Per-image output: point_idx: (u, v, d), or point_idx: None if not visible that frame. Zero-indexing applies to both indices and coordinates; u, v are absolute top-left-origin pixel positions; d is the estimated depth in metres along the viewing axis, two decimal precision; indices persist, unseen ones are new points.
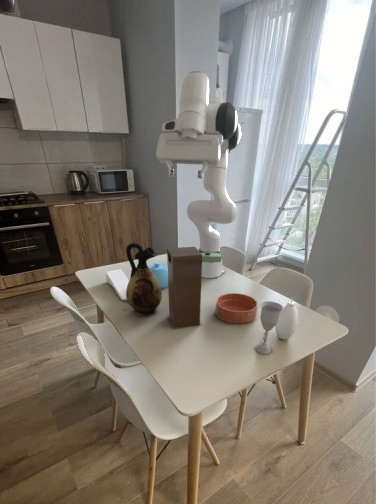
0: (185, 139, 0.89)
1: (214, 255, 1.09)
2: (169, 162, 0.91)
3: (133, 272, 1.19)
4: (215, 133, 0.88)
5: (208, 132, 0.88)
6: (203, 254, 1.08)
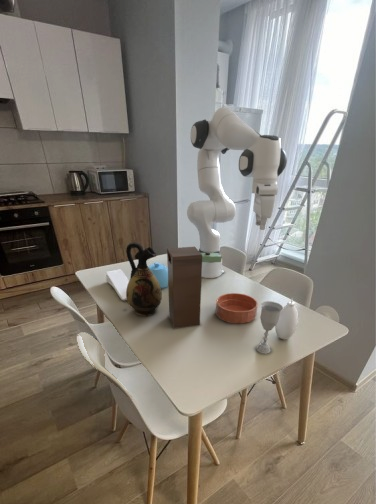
0: None
1: (214, 255, 1.09)
2: None
3: (133, 272, 1.19)
4: None
5: None
6: (203, 254, 1.08)
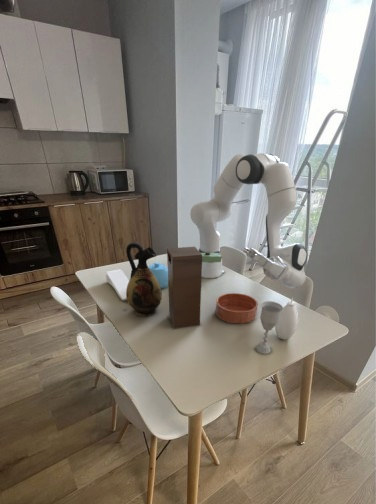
0: None
1: (214, 255, 1.09)
2: (261, 264, 1.10)
3: (133, 272, 1.19)
4: None
5: None
6: (203, 254, 1.08)
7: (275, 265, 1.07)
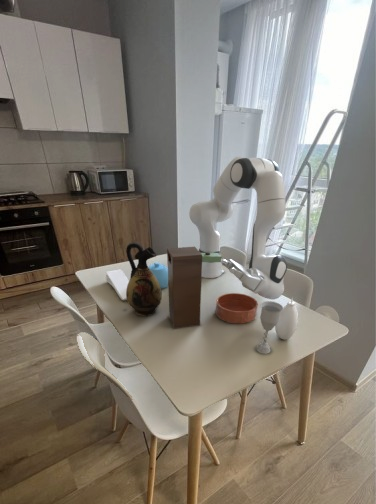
0: None
1: (214, 255, 1.09)
2: (237, 276, 1.11)
3: (133, 272, 1.19)
4: None
5: None
6: (203, 254, 1.08)
7: (251, 278, 1.08)
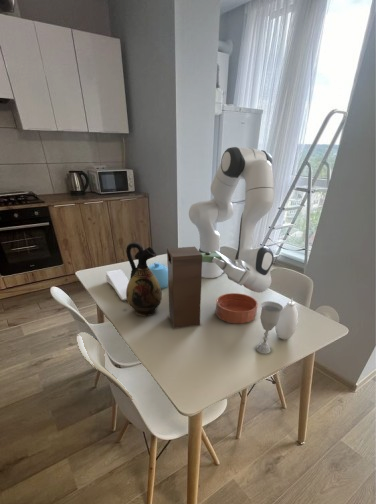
0: None
1: (214, 255, 1.09)
2: (219, 266, 1.09)
3: (133, 272, 1.19)
4: None
5: None
6: (203, 254, 1.08)
7: (234, 269, 1.04)
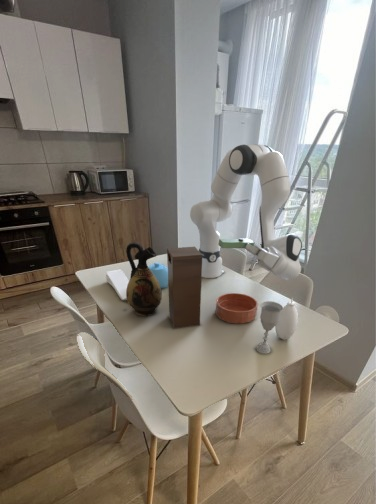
0: None
1: (247, 241, 1.09)
2: (252, 252, 1.09)
3: (133, 272, 1.19)
4: None
5: None
6: (236, 240, 1.09)
7: (269, 254, 1.04)
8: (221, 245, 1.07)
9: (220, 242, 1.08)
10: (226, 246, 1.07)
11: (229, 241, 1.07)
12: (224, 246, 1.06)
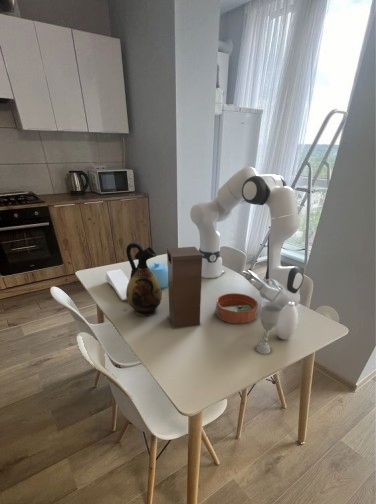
0: None
1: (246, 308, 1.26)
2: (257, 287, 1.16)
3: (133, 272, 1.19)
4: None
5: None
6: (236, 308, 1.26)
7: (270, 289, 1.13)
8: None
9: None
10: None
11: None
12: None
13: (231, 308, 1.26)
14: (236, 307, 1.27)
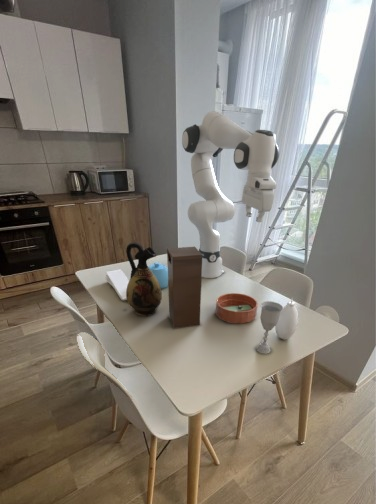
0: None
1: (246, 308, 1.26)
2: None
3: (133, 272, 1.19)
4: None
5: None
6: (236, 308, 1.26)
7: (264, 207, 1.06)
8: None
9: None
10: None
11: None
12: None
13: (231, 308, 1.26)
14: (236, 307, 1.27)
